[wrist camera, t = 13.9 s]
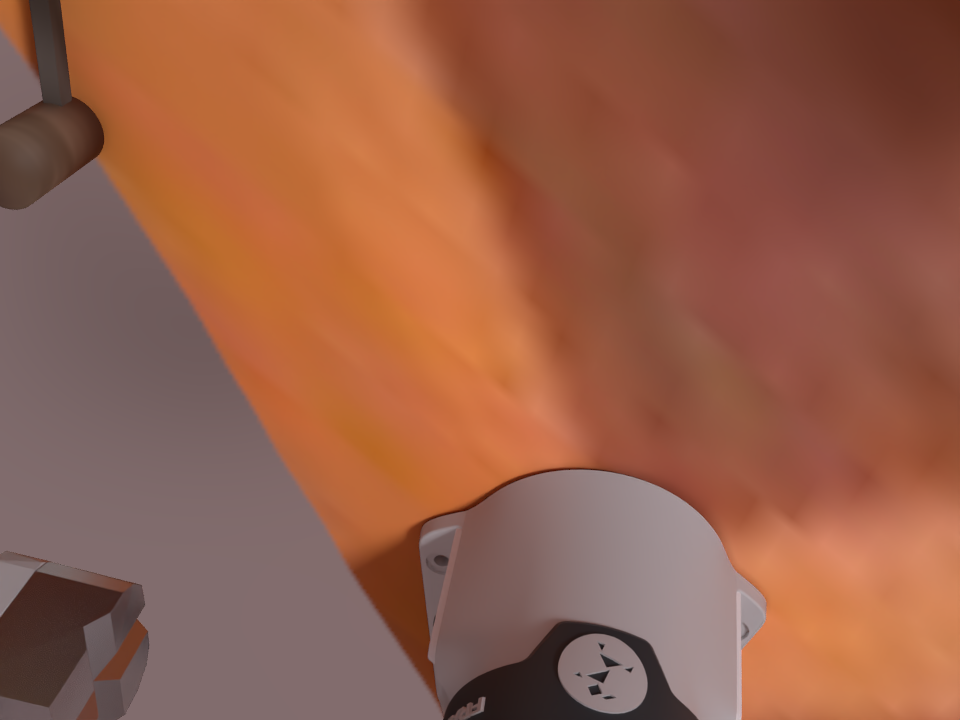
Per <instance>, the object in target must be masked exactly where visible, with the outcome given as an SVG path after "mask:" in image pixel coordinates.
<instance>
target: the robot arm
mask: <svg viewBox="0 0 960 720" xmlns="http://www.w3.org/2000/svg"><path fill="white" fill-rule="evenodd" d="M419 552H420V560H421V568H422V576H423V585H424V593H425V601H426V609H427V617H428V626H429V634H430V644H429V650H428V659H429V660H430V661H431V662H432V663H433V667H434V675H435V683H436V690H437V696H438V699H439V701H440V705H441V709H442V714H443V718H444V719H443V720H741V715H742V685H741V650H742V649H743V647H744V646H745V645H746V644H747V643H748V642H749V641H750V639H751V638H752V637H753V636H754V635H755V634H756V633H757V631H758V630H759V629H760V628H761V627H762V626H763V624H764V623H765V620H766V600H765V598H764V597H763V595H762V594H761V593H760V592H759V591H758V590H757V589H756V588H755V587H754V586H753V585H752V584H751V583H750V582H748V581H747V580H746V579H745V578H744V577H742V576H741V575H740V574H739V573H737V572H736V571H735V569H734V568H733V566H732V565H731V563H730V561H729V559H728V556H727V554H726V552H725V549H724V547H723V545H722V543H721V541H720V539H719V537H718V535H717V534H716V532H715V531H714V529H713V528H712V527H711V526H710V524H709V523H708V522H707V521H706V520H705V519H704V518H703V516H702V515H700V514H699V513H698V512H697V511H696V510H695V509H694V508H693V507H691V506H690V505H689V504H687V503H686V502H685V501H683V500H682V499H680V498H679V497H677V496H675V495H674V494H672V493H670V492H668V491H666V490H664V489H663V488H660V487H658V486H656V485H654V484H651V483H649V482H646V481H643V480H640V479H637V478H634V477H630V476H626V475H622V474H617V473H612V472H605V471H597V470H562V471H553V472H547V473H542V474H537V475H534V476H530V477H527V478H524V479H521V480H518V481H516V482H514V483H511V484H509V485H507V486H505V487H503V488H502V489H500V490H498V491H497V492H495V493H494V494H492V495H491V496H489V497H488V498H487V499H485V500H484V501H483V502H481V503H480V504H478V505H477V506H475V507H473V508H471V509H469V510H467V511H463V512H458V513H453V514H449V515H445V516H441V517H437V518H435V519H432V520H430V521H428V522H426V523H425V524H424V525H423V527H422V529H421V533H420V539H419ZM441 555H443V556H441ZM444 556H445V557H444ZM144 606H145V601H144V595H143V589H142V585H140V584H136V583H132V582H128V581H124V580H120V579H116V578H112V577H108V576H104V575H100V574H97V573H93V572H89V571H85V570H81V569H77V568H72V567H69V566H65V565H61V564H57V563H53V562H51V561H47V560H43V559H38V558H34V557H30V556H26V555H21V554H17V553H13V552H8V551H5V552H3V553H2V554H0V720H117V719H119V718H120V717H122V716H123V715H125V713H126V711H127V709H128V708H129V706H130V704H131V702H132V700H133V698H134V696H135V694H136V692H137V691H138V688H139V685H140V682H141V679H142V676H143V673H144V670H145V667H146V664H147V657H148V649H149V639H148V631H147V630H146V629H145V627H144V626H143V625H142V624H141V623H140V622H139V621H138V620H137V618H138V616H139V614H140V613H141V611H142V609H143V608H144Z"/></svg>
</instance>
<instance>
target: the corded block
mask: <svg viewBox="0 0 960 720" xmlns="http://www.w3.org/2000/svg"><path fill="white" fill-rule="evenodd" d="M29 3H30V10H31V18H32V25H33V32H34V39H35V47H36V54H37V61H38V68H39V76H40V83H41V90H42V97H43V100H42V101H41V102H39V103H38V104H36V105H34V106H32V107H30V108H29V109H27V110H25V111H24V112H22V113H20V114H18V115H16V116H15V117H13V118H11V119H10V120H8V121H6V122H5V123H3V124H1V125H0V206H1V207H3V208H7V209H14V210H15V209H16V210H18V209H23V208H26V207H28V206H30V205H31V204H33V203H34V202H35V201H37V200H38V199H39V198H41V197H42V196H44V195H45V194H46V193H48V192H49V191H50V190H52V189H53V188H54V187H56V186H57V185H59V184H60V183H61V182H63V181H64V180H65V179H67V178H68V177H70V176H71V175H72V174H74V173H75V172H76V171H78V170H79V169H80V168H82V167H83V166H85V165H86V164H87V163H89V162H90V161H91V160H93V159H94V158H96V157H97V156H98V155H99V154H100V152H101V150H102V148H103V145H104V133H103V129H102V126H101V123H100V121H99V120H98V118H97V116H96V115H95V113H94V112H93V111H92V110H91V109H90V108H89V107H88V106H87V105H86V104H85V103H83V102H82V101H80V100H78V99H77V98H74V97H72V96H71V88H70V79H69V71H68V63H67V54H66V46H65V37H64V29H63V20H62V12H61V4H60V0H29Z"/></svg>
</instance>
